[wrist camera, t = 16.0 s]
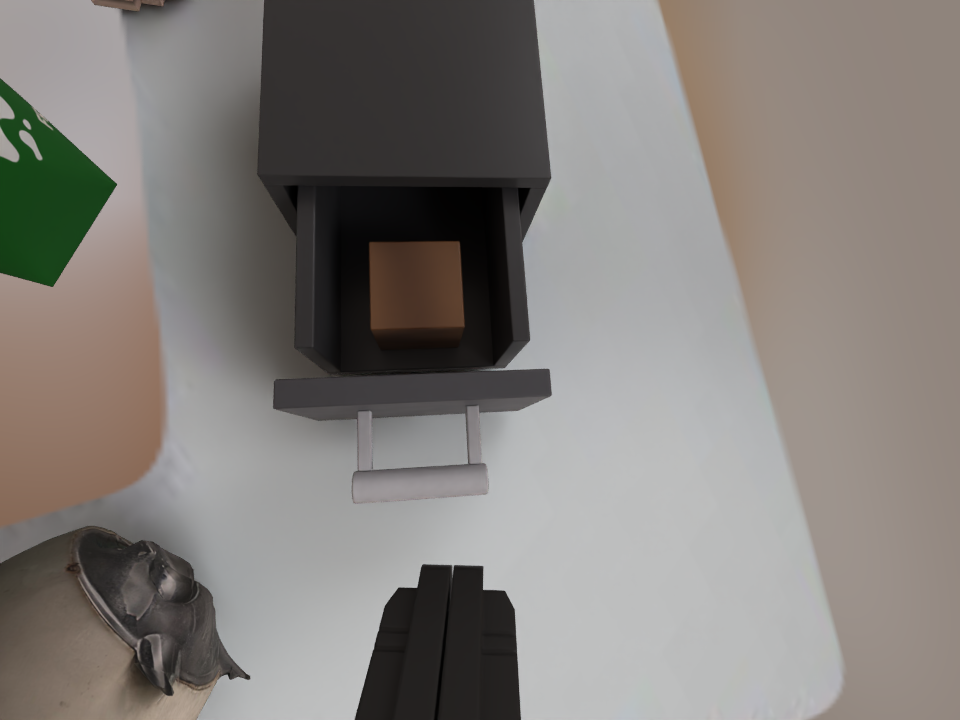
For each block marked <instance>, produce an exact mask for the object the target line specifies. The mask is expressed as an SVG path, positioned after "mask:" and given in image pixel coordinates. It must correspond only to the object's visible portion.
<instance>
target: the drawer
mask: <svg viewBox="0 0 960 720" xmlns="http://www.w3.org/2000/svg"><path fill="white" fill-rule="evenodd" d="M410 241H459V242H460V249H461V267H462V284H463V302H464V319H465V327H464V331H463V334H462V338H461V341H460V345H459V347H456V348H429V349H401V350H380V348H379V346H378V344H377V342H376V340H375V338H374V336H373V334H372V332H371V330H370V292H369V242H410ZM529 341H530V332H529V320H528V308H527V295H526V283H525V271H524V259H523V246H522V234H521V222H520V210H519V197H518V188H516V187H411V186H305V185H298V191H297V241H296V290H295V339H294V347H295V348H296V349H297V350H298V351H300V352H301V353H302V354H303V355H305V356H306V357H307V358H309V359H310V360H311V361H313V362H314V363H315V364H317V365H318V366H319V367H321V368H322V369H323V370H324V371H326V372H327V373H328V374H330V375H336V374H362V373H388V372H414V371H440V370H466V369H491V368H505V367H506V366H507V365H508V364H509V363H510V362H511V361H512V359H513V358H514V357H515V356H516V355H517V354H518V353H519V352H520V351H521V350H522V348H523V347H524V346H525V345H526V344H527V343H528V342H529ZM551 395H552V392H551V381H550V370H549V369H530V370H505V371H479V372H454V373H428V374H403V375H378V376H352V377H327V378H301V379H276V380H274V400H273V408H274V409H276V410H280V411H284V412H288V413H291V414H295V415H299V416H302V417H306V418H310V419H314V420H317V421H323V420H343V419H357V435H358V471H356V472H354V474H353V478H352V499H353V502H354V503H355V504H359V503H373V502H387V501H401V500H415V499H429V498H442V497H456V496H470V495H484V494H487V493H488V471H487V466H486V464H485V463H482V455H481V438H480V421H479V413H482V412H502V411H518V410H521V409H523V408H525V407H527V406H530V405H532V404H534V403H536V402H539V401H541V400H543V399H545V398H548V397H550V396H551ZM462 413H466V431H467V450H468V463H469V464H464V465H448V466H433V467H417V468H401V469H386V470H372V469H373V457H372V418H382V417H402V416H422V415H442V414H462Z"/></svg>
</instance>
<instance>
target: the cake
mask: <svg viewBox="0 0 960 720" xmlns="http://www.w3.org/2000/svg"><path fill="white" fill-rule="evenodd" d="M91 1H92V2H93V3H94V5H100V6H105V7H112V8H119V9H126V10H132V11H140V7H141V3H144V4H151V5H158V6H164V2H165V0H91Z"/></svg>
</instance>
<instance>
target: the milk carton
mask: <svg viewBox="0 0 960 720" xmlns="http://www.w3.org/2000/svg"><path fill="white" fill-rule="evenodd" d="M116 186H117V184H116V183H115V182H114V181H113V180H112V179H111V178H110V177H108V176H107V175H106V174H105V173H104V172H103V171H102V170H101V169H100V168H99V167H98V166H96V165H95V164H94V163H93V162H92V161H91V160H90V159H89V158H88V157H87V156H86V155H85V154H83V153H82V152H81V151H80V150H79V149H78V148H77V147H76V146H75V145H74V144H73V143H72V142H70V141H69V140H68V139H67V138H66V137H65V136H64V135H63V134H62V133H60V132H59V130H57V129H56V128H55V127H54V126H53V125H52V124H51V123H50V122H49V121H47V119H45V118H44V117H43V116H42V115H41V114H40V113H39V112H38V111H37V110H36V109H34V108H33V107H32V106H31V105H30V104H29V103H28V102H26V100H24V99H23V98H22V97H21V96H20V95H19V94H17V92H15V91H14V90H13V89H12V88H11V87H10V86H8V85H7V84H6V83H5V82H4V81H3V80H2V79H0V273H3V274H7V275H10V276H14V277H18V278H22V279H25V280H29V281H33V282H36V283H40V284H43V285H47V286H51V287H53V286H54V284H55V283H56V281H57V280H58V278H59V276H60V275H61V273H62V272H63V270H64V268H65V267H66V265H67V264H68V262H69V260H70V259H71V257H72V256H73V254H74V252H75V251H76V249H77V248H78V246H79V244H80V243H81V241H82V240H83V238H84V237H85V235H86V233H87V232H88V230H89V229H90V227H91V225H92V224H93V222H94V221H95V219H96V217H97V216H98V214H99V213H100V211H101V209H102V208H103V206H104V205H105V203H106V202H107V200H108V198H109V196H110V195H111V193H112V192H113V190H114V189H115V187H116Z"/></svg>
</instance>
